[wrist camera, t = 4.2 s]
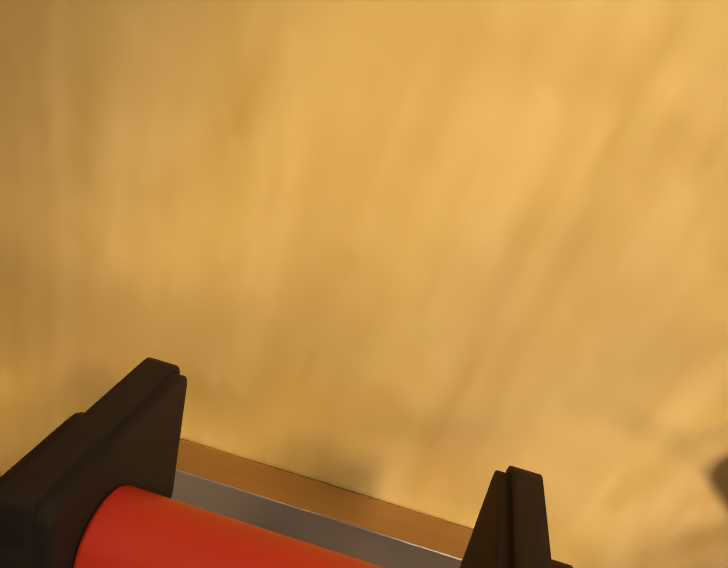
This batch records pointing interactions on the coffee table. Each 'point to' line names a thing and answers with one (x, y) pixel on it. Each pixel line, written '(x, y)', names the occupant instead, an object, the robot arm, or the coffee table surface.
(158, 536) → the lever
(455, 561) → the bracket
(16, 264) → the coffee table surface
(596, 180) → the coffee table surface
